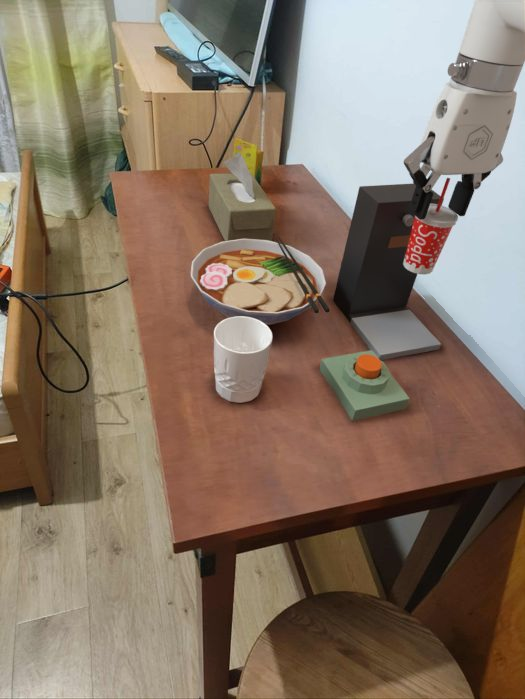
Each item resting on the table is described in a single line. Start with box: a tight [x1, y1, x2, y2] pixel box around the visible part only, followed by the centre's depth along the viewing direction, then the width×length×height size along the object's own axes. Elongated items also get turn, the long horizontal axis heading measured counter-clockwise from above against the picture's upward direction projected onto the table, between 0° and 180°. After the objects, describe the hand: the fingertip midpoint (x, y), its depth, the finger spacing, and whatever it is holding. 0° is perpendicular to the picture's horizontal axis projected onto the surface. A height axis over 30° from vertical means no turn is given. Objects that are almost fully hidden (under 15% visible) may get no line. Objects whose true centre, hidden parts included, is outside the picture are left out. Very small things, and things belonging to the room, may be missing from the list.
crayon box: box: [232, 137, 265, 187], centre depth 125 cm, size 7×3×12 cm, turn 52°
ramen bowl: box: [190, 232, 331, 326], centre depth 87 cm, size 25×23×8 cm
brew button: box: [355, 354, 382, 379], centre depth 74 cm, size 4×4×2 cm
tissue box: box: [208, 153, 277, 242], centre depth 108 cm, size 19×10×16 cm, turn 17°
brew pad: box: [318, 349, 410, 422], centre depth 76 cm, size 11×9×4 cm
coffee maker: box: [332, 183, 445, 361], centre depth 83 cm, size 17×12×22 cm
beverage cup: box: [403, 177, 459, 276], centre depth 74 cm, size 6×6×14 cm
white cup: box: [213, 316, 274, 404], centre depth 71 cm, size 8×8×10 cm
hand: (436, 212), depth 73 cm, fingers closed on beverage cup, 6 cm apart
